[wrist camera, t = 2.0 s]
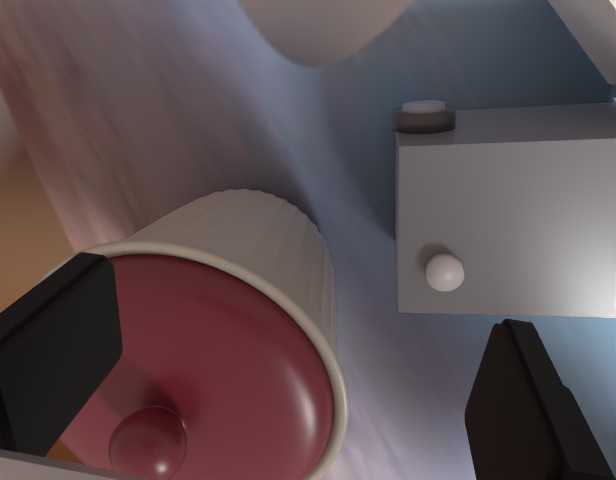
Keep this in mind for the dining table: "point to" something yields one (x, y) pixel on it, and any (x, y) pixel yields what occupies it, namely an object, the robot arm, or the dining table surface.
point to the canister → (220, 348)
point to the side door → (593, 31)
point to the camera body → (506, 209)
